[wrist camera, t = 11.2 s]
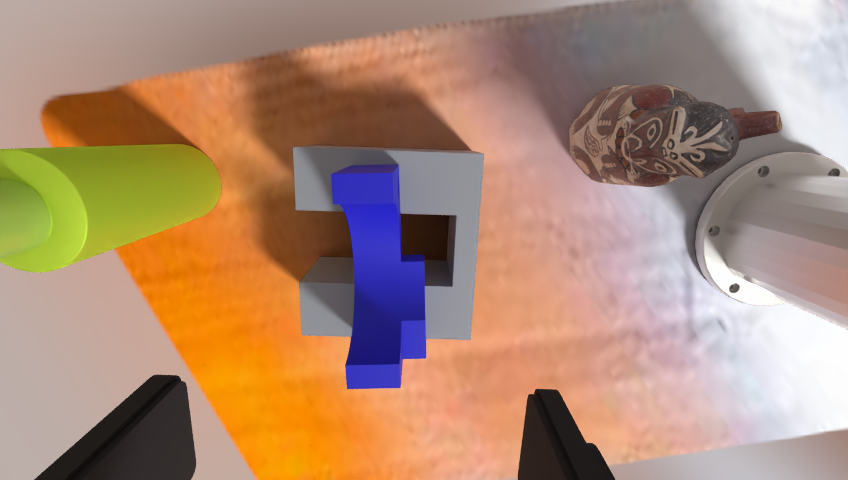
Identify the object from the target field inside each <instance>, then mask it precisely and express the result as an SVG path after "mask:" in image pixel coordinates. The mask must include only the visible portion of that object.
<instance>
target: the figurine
mask: <svg viewBox="0 0 848 480" xmlns="http://www.w3.org/2000/svg"><path fill="white" fill-rule="evenodd" d="M781 129H782V122H781V118H780V114H779V112H776V111H765V112H751V113H745V112H744V110H743V108H734V109H729V110H727V109H725V108H723V107H721V106H719V105H716V104H713V103H710V102H698V100H697V99H696V98H694V97H693V96H691V95H690V94H688V93H687V92H685V91H684V90H681V89H679V88H676V87H673V86H670V85H630V84H627V85H621V86H616V87H612V88H608V89H606V90H604V91H602V92H600V93H599V94H597V95H596V96H595V97H594V98H593V99H592V100H591V101H590V102H589V103H588V104H587V105H586V106H585V108H584V109H583V110H582V112H581V113H580V115H579V117H578V118H577V119H575V120H574V121H573V123H572V125H571V127H570V129H569V138H570V146H569V151H570V155H571V156H572V158H573V159H574V160H575V161H576V163H577V164H578V166H579V167H580V168H581V169H582V170H583V171H584V172H585V174H586V175H588V176H589V177H590V178H591V179H592V180H594V181H597V182H601V183H609V184H619V185H633V186H644V187H654V186H660V185H665V184H667V183H670V182H672V181H674V180H676V179H677V178H679V177H681V176H682V175H691V176H693V177H696V178H704V177H706V176H707V175H709V174H710V173H712V172H713V171H715V170H716V169H718V168H720V167H722V166H723V165H725V164H726V163H727V162H729V161H730V160H731V159H732V158H733V157H734V155H735V154H736V152H737V149H738V145H739V141H740V140H742V139H746V138H751V137H756V136H761V135H767V134H772V133H777V132H779V131H780V130H781Z"/></svg>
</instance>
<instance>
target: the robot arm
mask: <svg viewBox="0 0 848 480" xmlns="http://www.w3.org/2000/svg"><path fill="white" fill-rule="evenodd" d="M695 249H696V256H697V261H698V264H699V266H700V269H701V271H702V273H703V274H704V276H705V277H706V279H707V280H708V282H709V283H710V284H711V285H712V286H713V287H715V288H716V289H717V290H718V291H720V292H721V293H723V294H725V295H727V296H728V297H730V298H732V299H735V300H737V301H739V302H741V303H746V304H750V305H757V306H771V305H778V304H784V303H789V304H792V305H794V306H796V307H798V308H800V309H803V310H805V311H807V312H809V313H811V314H814V315H816V316H818V317H820V318H822V319H825V320H827V321H829V322H831V323H834V324H836V325H838V326H840V327H842V328H845V329H847V330H848V172H847V171H846V170H845V168H844V167H842V166H841V165H839V164H838V163H836V162H835V161H833V160H832V159H829V158H827V157H824V156H821V155H819V154H812V153H805V152H782V153H776V154H770V155H767V156H764V157H761V158H758V159H755V160H753V161H752V162H750V163H748V164H746V165H744V166H742V167H740V168H739V169H738V170H737V171H735V172H734V173H733V174H731V175H730V176H729V177H727V178H726V179H725V180H724V181H723V183H722V184H721V185H720V186H719V187H718V188H717V189H716V190H715V191H714V193H713V194H712V196H711V197H710V199H709V200H708V202H707V203H706V205H705V207H704V209H703V212H702V214H701V216H700V219H699V222H698V226H697V230H696V239H695ZM195 468H196V457H195V450H194V442H193V434H192V425H191V417H190V409H189V401H188V393H187V386H186V383H185V382H183V381H181V379H180V377H179V376H176V375H175V376H174V375H153V376H152V377H150V378H149V379H148V380H147V381H146V382H145V383H144V384H143V385H141V386H140V387H139V388H138V389H137V390H136V391H134V392H133V393H132V394H131V395H130V396H129V397H128V398H126V399H125V400H124V401H123V402H122V403H121V404H120V405H119V406H117V407H116V408H115V409H114V410H113V411H112V412H111V413H109V414H108V415H107V416H106V417H105V418H104V419H103V420H102V421H100V422H99V423H98V424H97V425H96V426H95V427H94V428H92V429H91V430H90V431H89V432H88V433H87V434H86V435H84V436H83V437H82V438H81V439H80V440H79V441H78V442H76V443H75V444H74V445H73V446H72V447H71V448H70V449H69V450H67V451H66V452H65V453H64V454H63V455H62V456H61V457H59V459H57V460H56V461H55V462H54V463H53V464H52V465H51V466H49V467H48V468H47V469H46V470H45V471H44V472H42V473H41V474H40V475H39V476H38V477H37V478H36V479H35V480H191V478H192V477H193V474H194V472H195ZM518 480H615V478H614V476H613V474H612V473H611V471H610V469H609V467H608V466H607V464H606V462H605V460H604V458H603V457H602V455H601V453H600V451H599V450H598V448H597V447H596V445H594V444H593V443H586V442H585V440H584V438H583V436H582V434H581V432H580V431H579V429H578V427H577V425H576V423H575V421H574V419H573V417H572V415H571V414H570V412H569V410H568V408H567V406H566V404H565V402H564V400H563V398H562V396H561V395H560V393H559V391H558V390H552V389H536V390H535V392H534V394H529V395H528V399H527V406H526V414H525V422H524V430H523V438H522V446H521V454H520V462H519V470H518Z"/></svg>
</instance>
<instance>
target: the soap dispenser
mask: <svg viewBox="0 0 848 480" xmlns="http://www.w3.org/2000/svg"><path fill="white" fill-rule="evenodd" d="M220 194H221V179H220V175H219V173H218V170H217V168H216V166H215V165H214V163H213V162H212V161H211V160H210V158H209V157H208V156H206V155H205V154H204V153H203V152H201V151H200V150H198V149H196V148H194V147H192V146H189V145H184V144H156V145H123V146H89V147H55V148H24V149H23V148H22V149H0V262H2V263H3V264H5V265H8V266H10V267H13V268H15V269H19V270H23V271H28V272H48V271H53V270H57V269H60V268H62V267H65V266H68V265H71V264H73V263H76V262H79V261H82V260H84V259H87V258H90V257H92V256H95V255H98V254H101V253H103V252H106V251H109V250H112V249H114V248H117V247H120V246H123V245H125V244H128V243H131V242H134V241H136V240H139V239H142V238H144V237H147V236H150V235H153V234H155V233H158V232H161V231H164V230H166V229H169V228H172V227H175V226H177V225H180V224H183V223H185V222H188V221H191V220H194V219H196V218H199V217H202V216H204V215H206V214H207V213H209V212H210V211H211V210H212V209H213V208H214V207H215V206H216V204H217V202H218V200H219V198H220Z"/></svg>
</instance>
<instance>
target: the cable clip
mask: <svg viewBox="0 0 848 480" xmlns="http://www.w3.org/2000/svg"><path fill="white" fill-rule="evenodd" d="M331 183H332V196H333V204H339V205H340V206H341V207H342V208H343V210H344V212H345V215H346V218H347V221H348V225H349V230H350V236H351V242H352V250H353V262H354V315H353V327H352V336H351V343H350V348H349V353H348V358H347V361H346V365H345V367H346V380H347V389H369V388H400V386H401V374H402V361H403V359H421V358H426V319H425V269H424V255H402V245H401V214H400V183H399V164H398V165H351V166H349V167H346V168H344V169H342V170H339V171H337V172H334V173H332V174H331Z"/></svg>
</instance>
